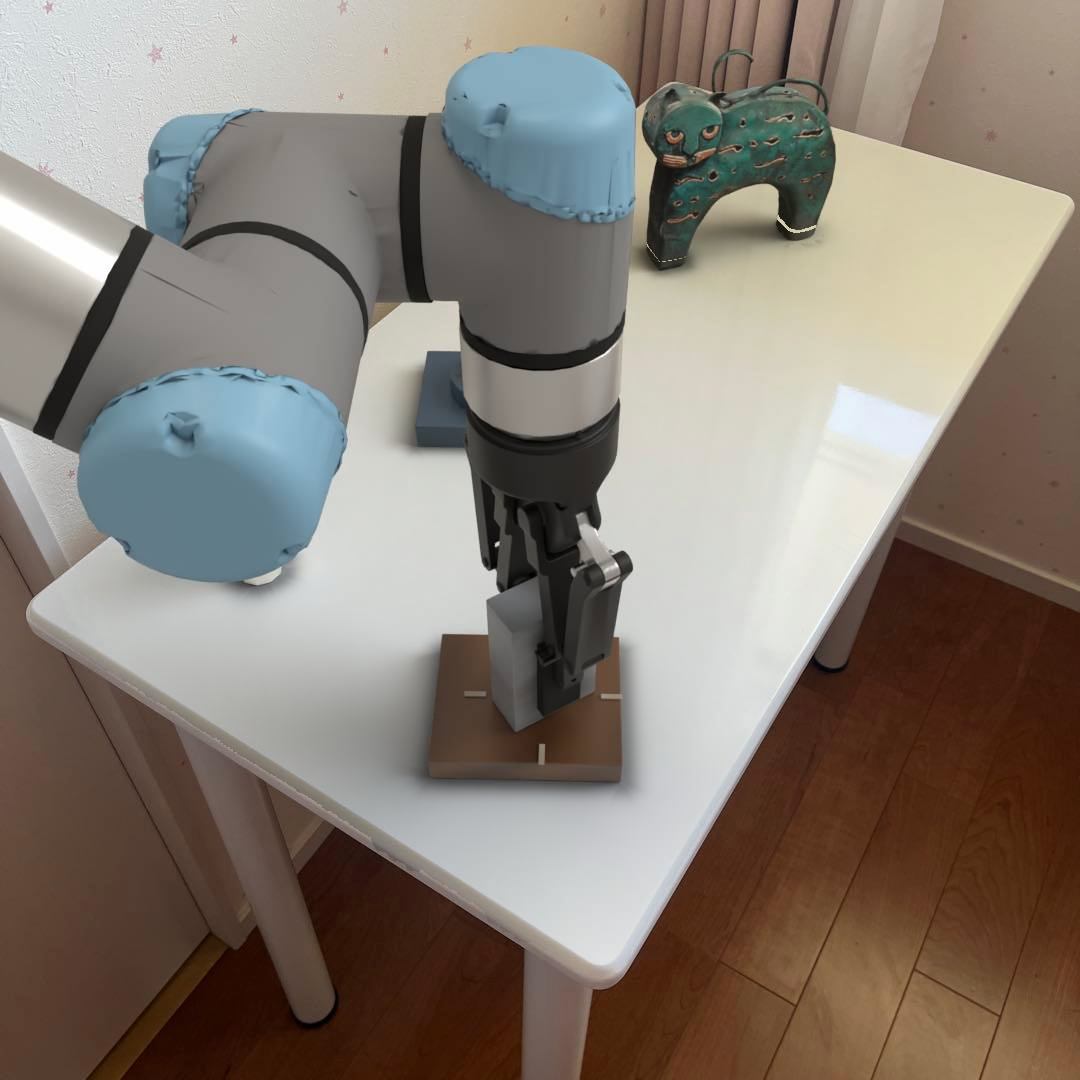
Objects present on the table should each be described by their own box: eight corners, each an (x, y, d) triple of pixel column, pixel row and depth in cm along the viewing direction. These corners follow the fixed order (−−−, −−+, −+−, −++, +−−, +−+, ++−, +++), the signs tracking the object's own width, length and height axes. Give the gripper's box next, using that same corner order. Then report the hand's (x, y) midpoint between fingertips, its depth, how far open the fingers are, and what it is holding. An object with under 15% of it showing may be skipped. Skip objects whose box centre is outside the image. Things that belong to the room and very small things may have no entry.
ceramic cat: (647, 280, 107) (663, 75, 92) (622, 246, 111) (633, 44, 97) (829, 243, 111) (871, 42, 97) (798, 211, 116) (834, 14, 101)
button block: (417, 446, 91) (413, 408, 88) (429, 370, 97) (425, 333, 95) (563, 448, 90) (564, 411, 87) (564, 372, 97) (565, 335, 94)
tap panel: (429, 779, 69) (427, 761, 68) (444, 650, 76) (441, 630, 75) (622, 783, 69) (624, 765, 67) (619, 653, 76) (620, 634, 74)
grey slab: (515, 733, 69) (511, 631, 62) (491, 699, 71) (485, 596, 63) (595, 692, 71) (600, 588, 64) (570, 660, 73) (572, 556, 66)
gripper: (708, 462, 50) (666, 748, 67) (522, 288, 59) (527, 578, 76) (567, 526, 47) (561, 807, 64) (397, 333, 56) (431, 623, 73)
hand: (543, 682), depth 70 cm, fingers closed on grey slab, 3 cm apart
